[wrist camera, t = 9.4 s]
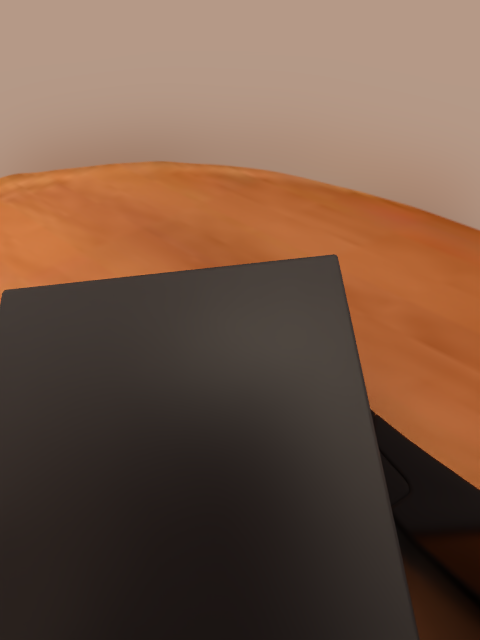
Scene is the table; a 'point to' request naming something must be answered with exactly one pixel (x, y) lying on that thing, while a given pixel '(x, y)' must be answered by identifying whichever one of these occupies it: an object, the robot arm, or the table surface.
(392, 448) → the robot arm
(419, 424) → the table surface
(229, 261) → the table surface
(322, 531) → the white gray rectangular block
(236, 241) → the table surface
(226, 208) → the table surface
